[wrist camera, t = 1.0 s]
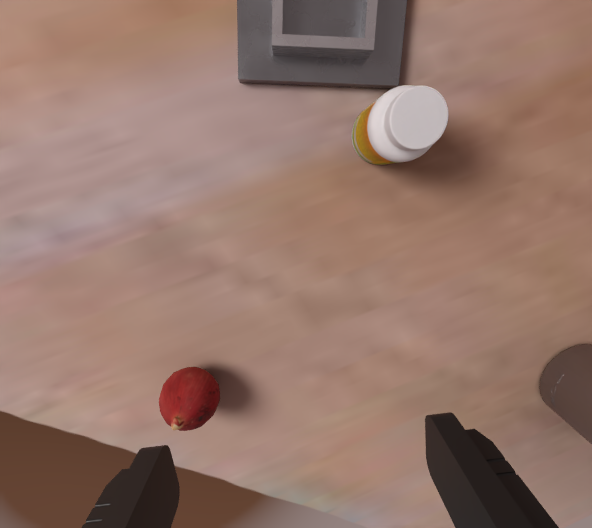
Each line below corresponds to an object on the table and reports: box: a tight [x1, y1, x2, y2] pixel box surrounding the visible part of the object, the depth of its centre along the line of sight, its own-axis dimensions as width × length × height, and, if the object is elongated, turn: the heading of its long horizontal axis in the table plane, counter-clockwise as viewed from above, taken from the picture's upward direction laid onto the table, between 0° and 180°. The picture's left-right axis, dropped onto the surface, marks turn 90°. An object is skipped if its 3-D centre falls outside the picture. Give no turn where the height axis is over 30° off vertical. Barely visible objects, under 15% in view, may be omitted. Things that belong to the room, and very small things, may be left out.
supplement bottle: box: [352, 85, 448, 165], centre depth 27 cm, size 5×5×10 cm
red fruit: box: [159, 367, 220, 431], centre depth 33 cm, size 6×6×8 cm
